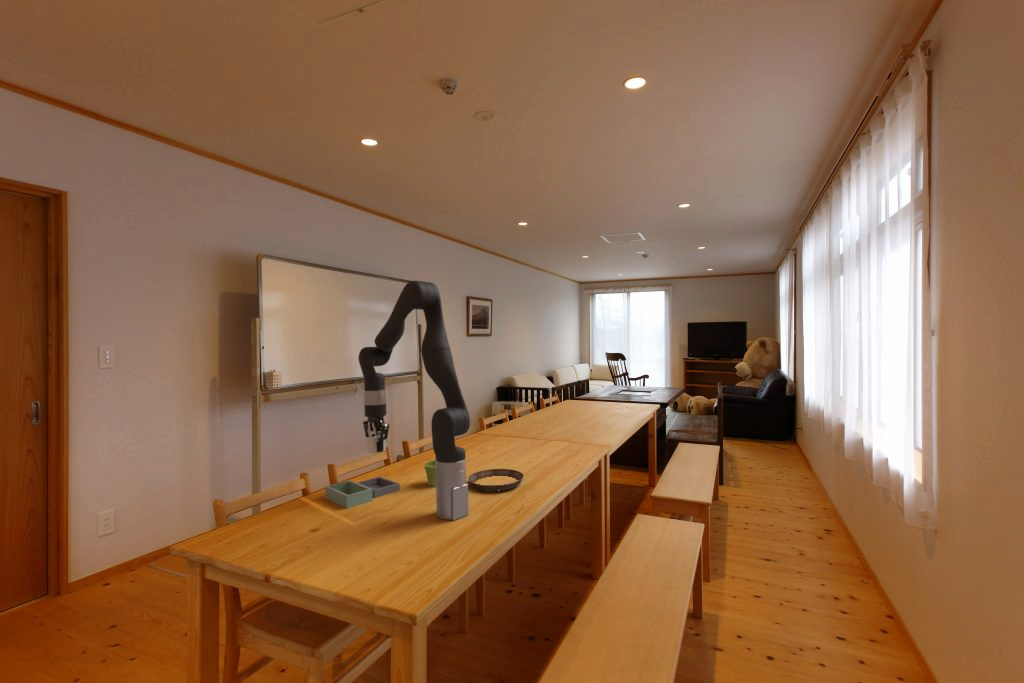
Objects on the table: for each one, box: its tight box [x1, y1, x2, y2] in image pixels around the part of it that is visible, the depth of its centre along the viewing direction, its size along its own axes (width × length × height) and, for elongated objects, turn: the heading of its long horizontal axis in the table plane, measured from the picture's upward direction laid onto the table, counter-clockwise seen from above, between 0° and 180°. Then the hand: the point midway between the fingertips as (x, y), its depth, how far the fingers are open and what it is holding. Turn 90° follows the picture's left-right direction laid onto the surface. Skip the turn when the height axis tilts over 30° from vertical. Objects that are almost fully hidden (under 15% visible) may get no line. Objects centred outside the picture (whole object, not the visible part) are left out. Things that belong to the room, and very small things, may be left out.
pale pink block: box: [366, 435, 387, 454], centre depth 167 cm, size 4×5×5 cm
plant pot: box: [422, 459, 436, 488], centre depth 173 cm, size 9×9×9 cm
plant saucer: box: [467, 468, 525, 492], centre depth 175 cm, size 21×21×3 cm
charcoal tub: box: [356, 476, 401, 499], centre depth 167 cm, size 13×10×4 cm
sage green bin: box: [324, 479, 374, 509], centre depth 158 cm, size 15×9×5 cm, turn 48°
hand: (376, 450), depth 167 cm, fingers closed on pale pink block, 4 cm apart
